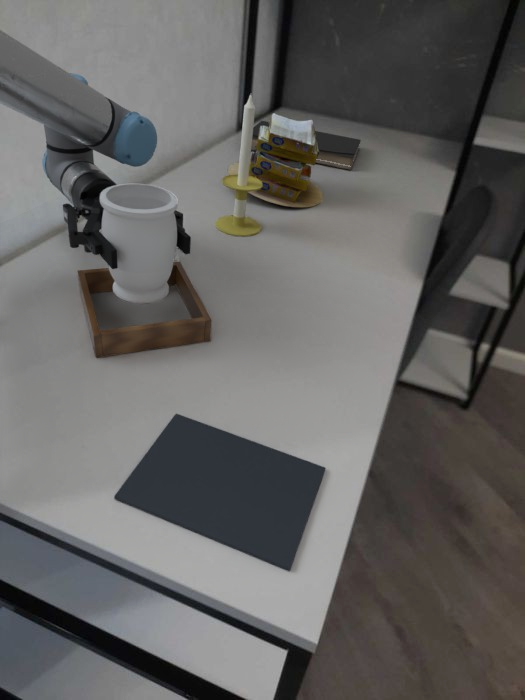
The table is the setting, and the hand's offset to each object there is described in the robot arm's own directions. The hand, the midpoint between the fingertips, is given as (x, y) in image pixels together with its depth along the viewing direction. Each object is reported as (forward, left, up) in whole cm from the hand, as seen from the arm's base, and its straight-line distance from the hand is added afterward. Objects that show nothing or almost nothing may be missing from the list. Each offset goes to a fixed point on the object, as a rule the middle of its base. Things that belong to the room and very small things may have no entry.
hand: (152, 252), depth 72 cm
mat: (+1, -31, -13) cm, 34 cm away
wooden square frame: (-1, +4, -13) cm, 14 cm away
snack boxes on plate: (+43, +52, -13) cm, 69 cm away
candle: (+26, +33, -13) cm, 44 cm away
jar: (-1, +4, -9) cm, 10 cm away
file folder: (+66, +83, -13) cm, 107 cm away
